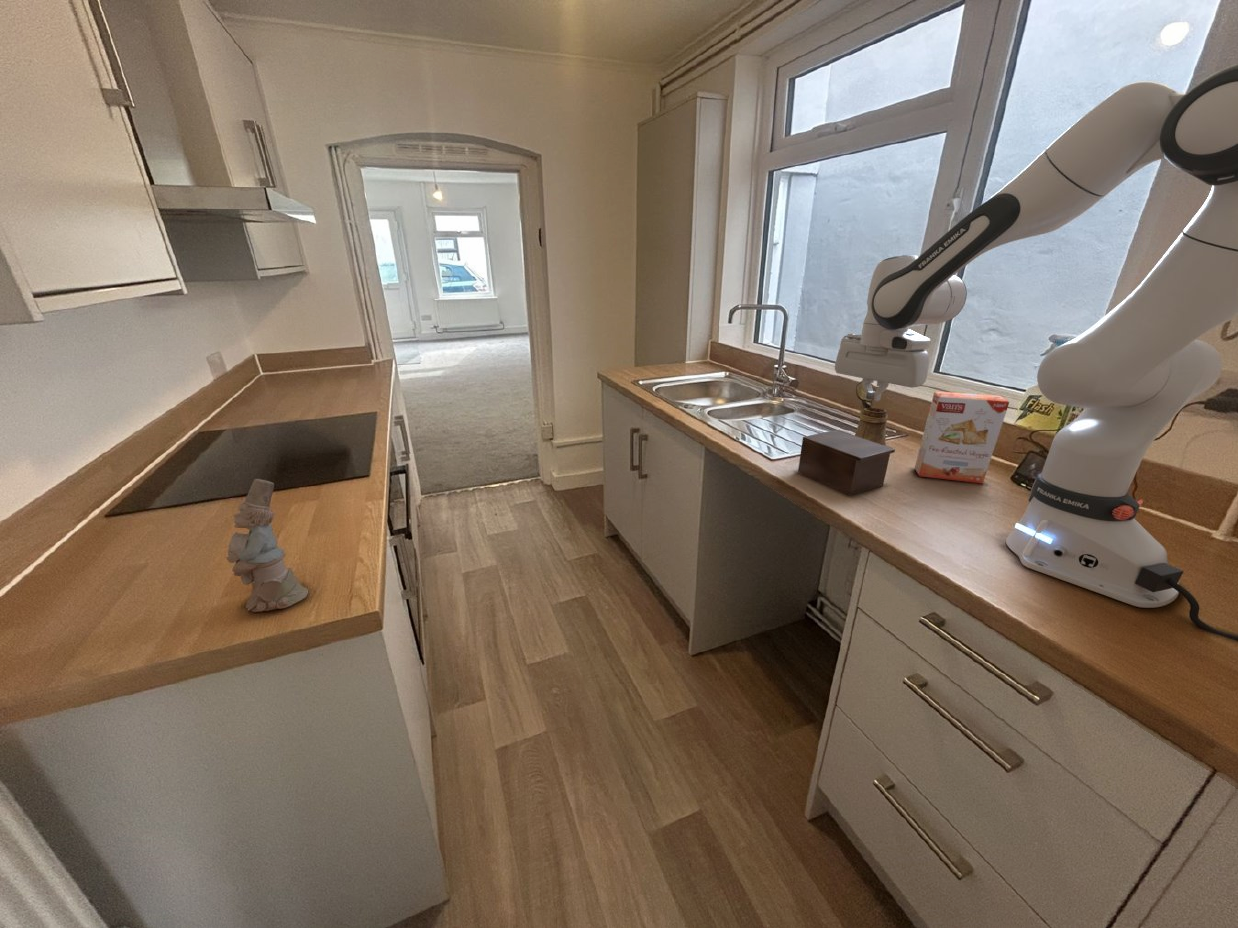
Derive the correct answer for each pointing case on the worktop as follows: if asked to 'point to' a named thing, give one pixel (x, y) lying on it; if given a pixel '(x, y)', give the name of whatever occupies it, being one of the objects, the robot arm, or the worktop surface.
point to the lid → (849, 445)
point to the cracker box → (960, 436)
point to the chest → (842, 469)
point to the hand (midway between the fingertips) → (872, 399)
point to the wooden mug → (871, 419)
